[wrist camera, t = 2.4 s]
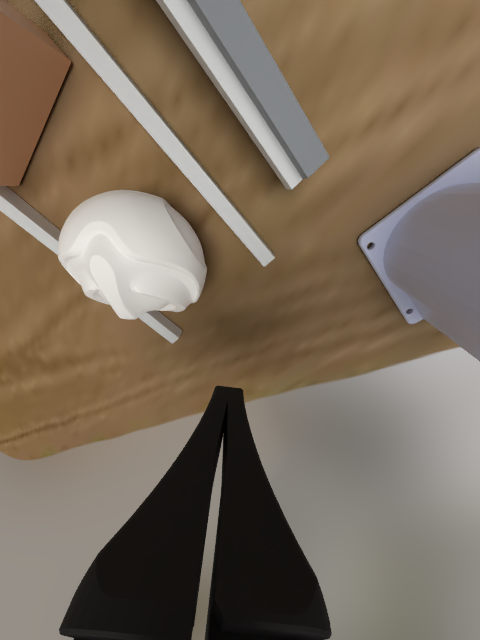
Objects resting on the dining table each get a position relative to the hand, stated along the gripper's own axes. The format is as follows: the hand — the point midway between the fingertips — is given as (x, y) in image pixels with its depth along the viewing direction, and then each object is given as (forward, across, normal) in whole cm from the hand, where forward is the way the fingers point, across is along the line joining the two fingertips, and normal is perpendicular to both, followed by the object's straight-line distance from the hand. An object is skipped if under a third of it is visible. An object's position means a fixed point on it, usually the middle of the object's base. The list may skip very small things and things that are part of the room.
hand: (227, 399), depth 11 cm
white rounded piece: (+10, +6, -5) cm, 13 cm away
